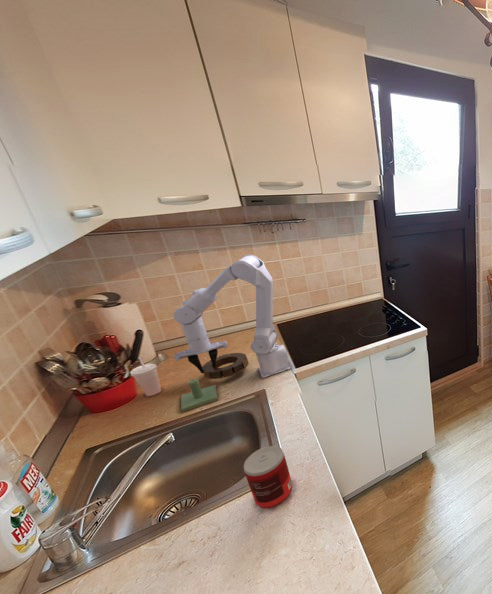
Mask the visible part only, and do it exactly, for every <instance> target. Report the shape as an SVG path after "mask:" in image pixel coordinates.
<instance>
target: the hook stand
mask: <svg viewBox="0 0 492 594" xmlns="http://www.w3.org/2000/svg"><path fill="white" fill-rule="evenodd" d="M188 386H189V388H190V391H191V392H188V393H185V394H182V395H180V402H181V403H180V411H181V412H182V413H183V412H187V411H189V410H193V409H196V408H200V407H202V406H205V405H208V404H210V403H214V402H216V401H218V394H217V388H216V385H215V384H212V385H210V386H207V387H203V388H202V387H201V384H200V381H199V379H197V378H194V379H191V380H189V381H188Z"/></svg>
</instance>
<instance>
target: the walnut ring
mask: <svg viewBox="0 0 492 594" xmlns="http://www.w3.org/2000/svg"><path fill="white" fill-rule="evenodd" d="M228 364H229V365H228ZM248 365H249V360H248V357H247V355H246V353H243V352H231V353H226V354H222V355H219V356H217V358H216V368H214V367H213V365H212V361H211V359H210V360H208V361H206V363H204V364H203V365H202V368H203V373H202V374H203V375H204V377H205V378H206V379H210V380H215V379H216V380H217V379H223V378H228V377H230V376H234V375H236V374H238V373H240V372H242V371H244V370H245V369H246V368H247V367H248Z"/></svg>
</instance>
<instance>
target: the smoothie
mask: <svg viewBox="0 0 492 594" xmlns="http://www.w3.org/2000/svg"><path fill="white" fill-rule="evenodd" d="M138 361H139V362H140V364H141V365H139V366H136V367H135V368H133V369H132V370H131V371H130V372H129V373H130V377H132V378H134V380H135V381H136V383H137V384H138V385H139V387H140V388H141V390H142V391H143V392H144V394H145V396H146V397H152V396H155V395H157V394H160V392H161V391H162V389H161V384H160V379H159V374H158V371H157V369H158V366H157V364H155V363H146V364H145V363H144V361H143V359H142V357H141V356H139V357H138Z"/></svg>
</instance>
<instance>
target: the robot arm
mask: <svg viewBox="0 0 492 594" xmlns="http://www.w3.org/2000/svg"><path fill="white" fill-rule="evenodd" d="M238 279H239V280H241V281H244V282H246V283H249V284H251V285H252V286H253V287H255V320H256V321H255V331H254V334H253V341H252V342H251V344H250V348H251V351H252V352H253V353H255V356H256V359H257V362H258V365H259V367H258V371H259V373H260V374H259V375H260V376H261V378H267V377H270V376H273V375H276V374H279V373H282V372H284V371H288V370H290V369H291V365H290V360H289V356H288V353H287V350H286V346H285V345H284V344H278V343H277V340H278V335H279V334H278V333H277V332H276V331H277V330H276V326H275V325H274V324H273V323H274V279H273V277H272V275H271V273H270V272H269V270H268V269H267V267H266V266H265V262H264V261H263V260H261V259H260V258H259V257H258V256H256V255H254V254H246V255H243V256H242V257H241V258H240V259H238V260H236V261H234V262H233V263H232V264H231V265H229V266H227V267H226V268H225V269H223V270H222V271H221V272H220V273H219V274H218V275H217V276H216V277H215V278H214V280H212V282H211V283H210V284H209V285H208V286H207V287H202V288H198V289H195V290H193V291H192V292H191V294H192V295H191V296H190V297H189V298H188V299H187V300H184V301H183V302H182V306H180V307H179V308H176V309H175V311H174V312H173V320H174V321H175V322H177V323H179V324H180V326H181V329H182V332H183V335H184V337H185V339H186V343H187V346H188V348H187V349H186V350H183V351H180V352H179V351H178V352H177V353H173V359H174V361H175V362H177V361H181V360H182V359H186V358H187V361H188V362H189V363H190V364H192V365H193V366H195V367H196V369H198V371H199V372H200V374H204V373H203V368H202V367H203V365H202V363H201V361H200V358H199V355H201V354H205V353H208V356H209V358H210V360H211V361H212V365H213V367H214V368H216V358H217V357H218V353H219V352H218V350H219V349H223V348H224V349H226V348H228V343H227V340H222V341H217V342H210V338H209V335H208V332H207V329H206V326H205V324H204V321H203V317H202V316H203V314H204V312H205V311H206V310H207V309H208V308H209V307H211V306H212V305H213V303H214V302H215V301H217V299H218V296H217V293H218V292H220V291H221V290H222V289H223V288H224V287H225V286H226V285H227V284H229V283H230V282H231V281H236V280H238Z"/></svg>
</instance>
